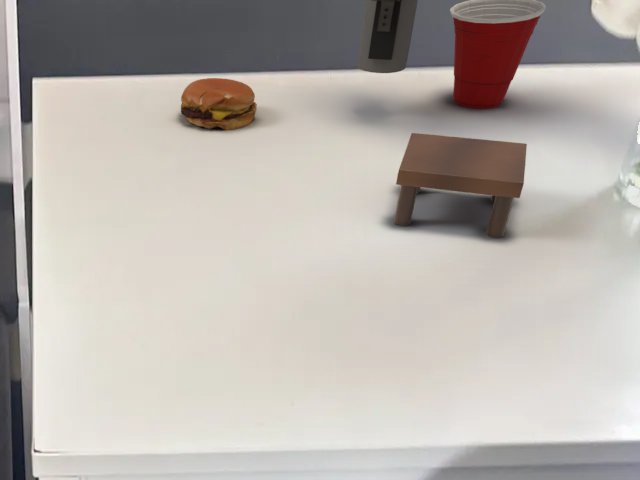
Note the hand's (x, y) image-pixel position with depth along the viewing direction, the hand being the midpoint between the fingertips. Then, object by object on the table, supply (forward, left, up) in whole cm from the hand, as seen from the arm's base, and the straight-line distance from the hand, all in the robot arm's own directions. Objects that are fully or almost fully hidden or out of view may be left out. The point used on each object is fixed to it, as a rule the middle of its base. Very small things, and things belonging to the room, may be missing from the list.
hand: (383, 51), depth 117 cm
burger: (+18, +8, -8) cm, 21 cm away
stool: (-12, +29, -8) cm, 33 cm away
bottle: (0, 0, -2) cm, 2 cm away
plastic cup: (-12, -8, -8) cm, 16 cm away
